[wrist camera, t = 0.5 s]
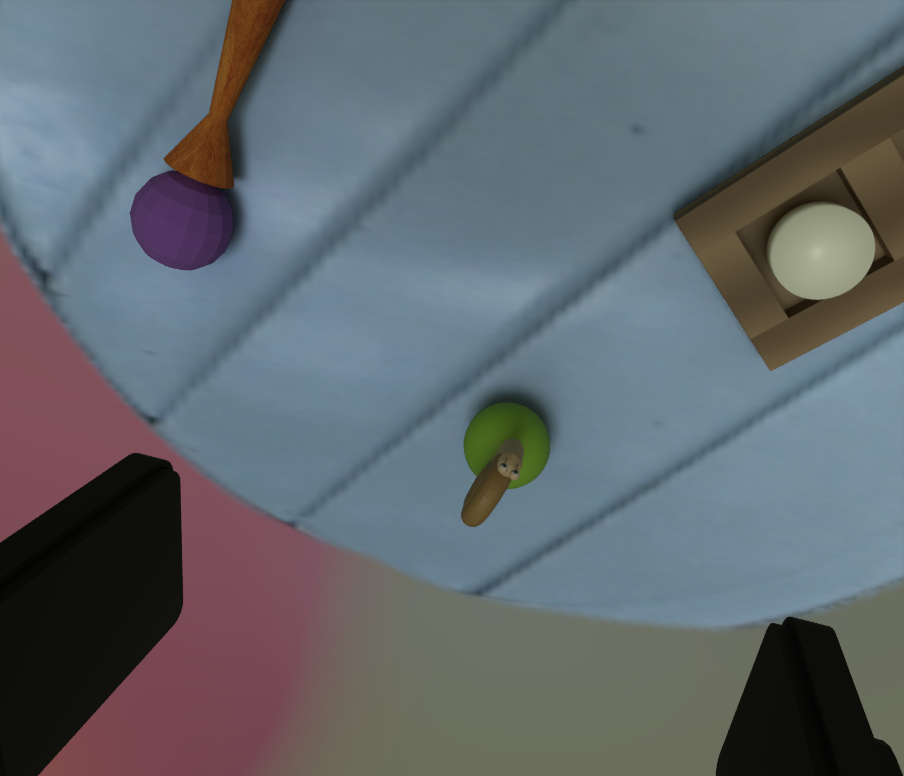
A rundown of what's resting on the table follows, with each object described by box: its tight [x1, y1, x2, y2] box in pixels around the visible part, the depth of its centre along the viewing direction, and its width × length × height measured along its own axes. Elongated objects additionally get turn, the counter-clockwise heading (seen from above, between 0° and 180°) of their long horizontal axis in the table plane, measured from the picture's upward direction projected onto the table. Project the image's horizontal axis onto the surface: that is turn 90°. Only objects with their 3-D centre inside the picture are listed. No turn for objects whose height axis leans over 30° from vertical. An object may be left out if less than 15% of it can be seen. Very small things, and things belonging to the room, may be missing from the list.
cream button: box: [766, 201, 875, 300], centre depth 36 cm, size 5×5×2 cm
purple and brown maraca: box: [130, 0, 285, 270], centre depth 43 cm, size 6×6×20 cm
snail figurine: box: [461, 403, 550, 527], centre depth 42 cm, size 5×6×12 cm
